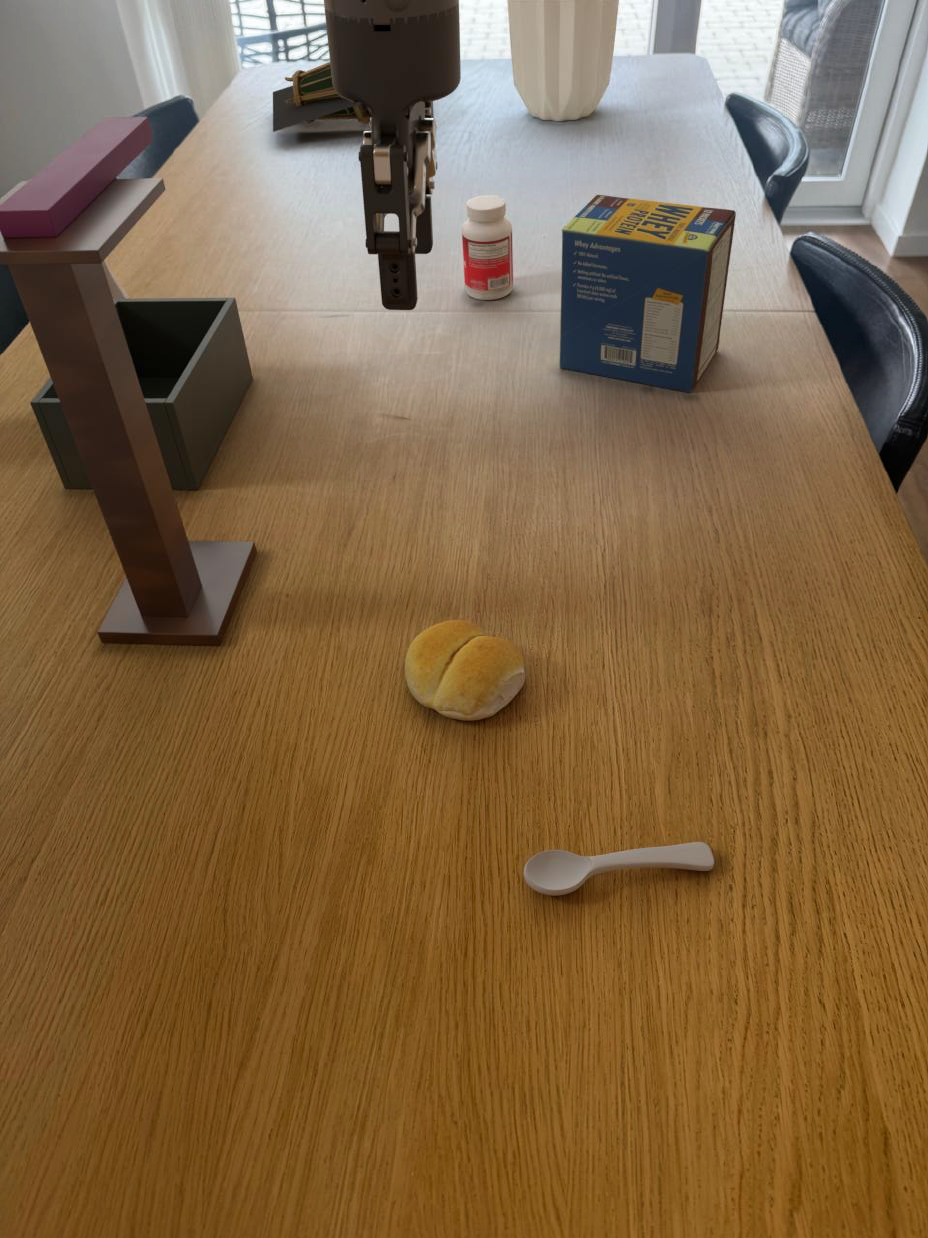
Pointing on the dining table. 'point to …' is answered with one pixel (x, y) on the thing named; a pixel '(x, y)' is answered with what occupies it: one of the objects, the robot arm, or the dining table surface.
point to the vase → (562, 54)
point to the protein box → (644, 290)
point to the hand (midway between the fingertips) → (409, 278)
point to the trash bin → (169, 384)
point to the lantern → (314, 100)
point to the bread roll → (463, 670)
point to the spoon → (608, 865)
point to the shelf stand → (121, 429)
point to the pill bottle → (487, 249)
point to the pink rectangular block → (74, 178)
